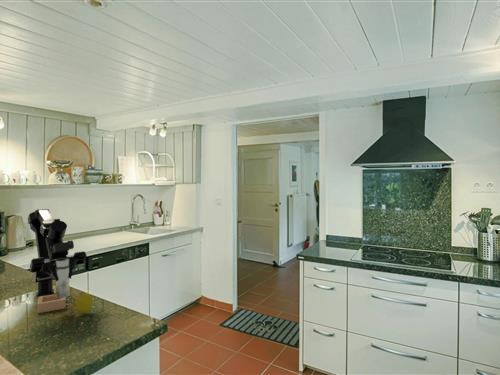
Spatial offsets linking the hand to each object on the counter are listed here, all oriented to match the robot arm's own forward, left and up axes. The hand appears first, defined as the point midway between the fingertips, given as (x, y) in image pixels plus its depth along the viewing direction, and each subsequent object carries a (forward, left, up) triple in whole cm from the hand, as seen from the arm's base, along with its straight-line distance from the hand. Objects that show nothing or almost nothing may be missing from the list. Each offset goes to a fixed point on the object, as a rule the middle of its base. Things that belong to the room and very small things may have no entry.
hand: (63, 279), depth 118 cm
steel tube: (-1, 0, -7) cm, 7 cm away
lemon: (+6, +7, -13) cm, 16 cm away
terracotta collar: (-9, -4, -13) cm, 16 cm away
